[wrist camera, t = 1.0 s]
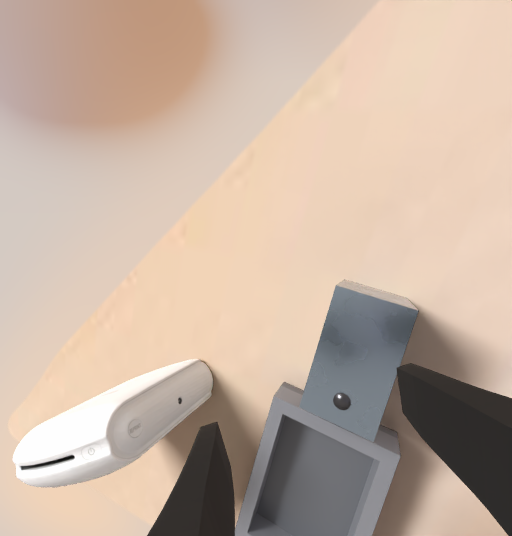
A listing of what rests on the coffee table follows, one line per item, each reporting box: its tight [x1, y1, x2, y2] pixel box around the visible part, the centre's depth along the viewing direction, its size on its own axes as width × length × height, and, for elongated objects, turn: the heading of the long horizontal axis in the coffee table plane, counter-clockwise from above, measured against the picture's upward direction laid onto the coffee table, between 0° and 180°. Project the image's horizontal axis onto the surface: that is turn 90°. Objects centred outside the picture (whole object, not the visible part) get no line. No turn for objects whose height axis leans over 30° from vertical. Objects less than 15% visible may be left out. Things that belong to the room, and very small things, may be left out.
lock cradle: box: [235, 382, 401, 536], centre depth 23 cm, size 9×12×3 cm
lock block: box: [299, 279, 419, 442], centre depth 20 cm, size 4×8×6 cm, turn 164°
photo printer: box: [13, 359, 213, 487], centre depth 23 cm, size 10×4×12 cm, turn 111°
